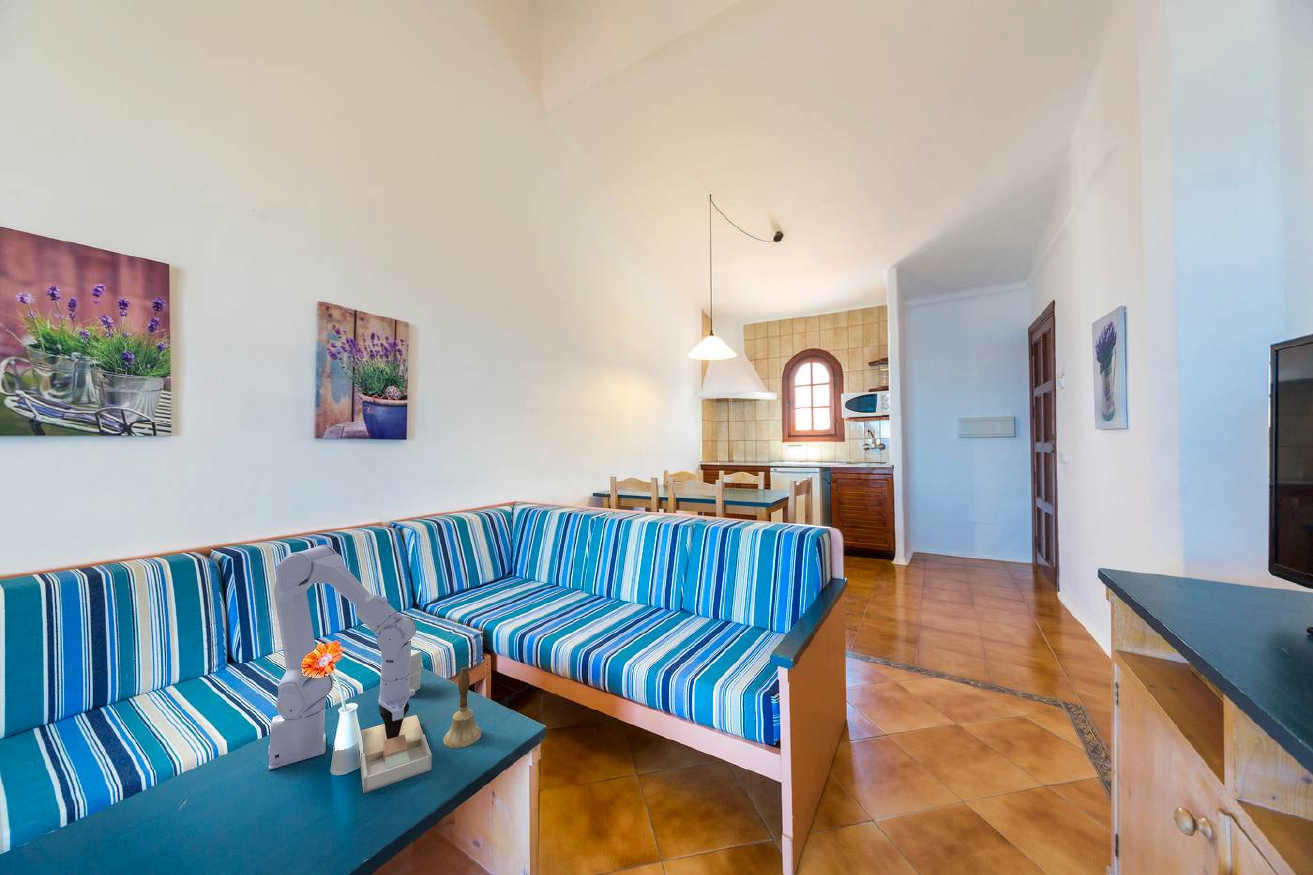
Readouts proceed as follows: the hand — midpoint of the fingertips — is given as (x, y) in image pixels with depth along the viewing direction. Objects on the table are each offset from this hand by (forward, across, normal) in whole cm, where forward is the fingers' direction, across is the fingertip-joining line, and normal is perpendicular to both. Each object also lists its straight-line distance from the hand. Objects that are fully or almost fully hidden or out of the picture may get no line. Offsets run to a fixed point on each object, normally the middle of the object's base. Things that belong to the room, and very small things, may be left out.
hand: (392, 737), depth 101 cm
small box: (+3, +28, -5) cm, 28 cm away
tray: (+3, -7, 0) cm, 8 cm away
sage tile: (+2, -9, 0) cm, 9 cm away
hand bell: (+3, -4, -14) cm, 15 cm away
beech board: (+3, +3, 0) cm, 4 cm away
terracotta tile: (+1, -4, 0) cm, 5 cm away
